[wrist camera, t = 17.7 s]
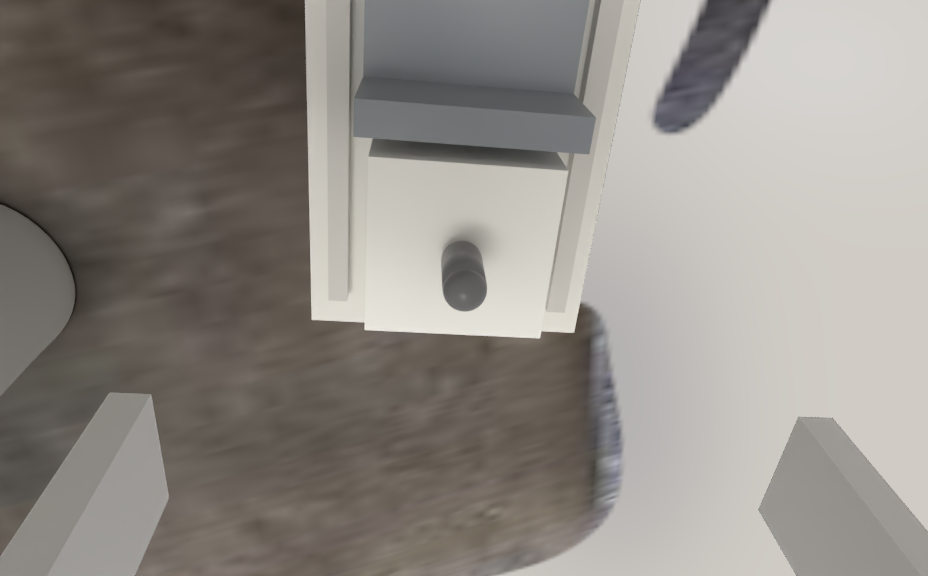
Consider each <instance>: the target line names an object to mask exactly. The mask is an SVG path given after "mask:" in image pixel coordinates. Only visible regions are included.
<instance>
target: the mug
mask: <svg viewBox="0 0 928 576" xmlns="http://www.w3.org/2000/svg"><path fill="white" fill-rule="evenodd" d="M74 303H75V285H74V280H73V276H72V273H71V270H70V268H69V265H68V263H67V261H66V259H65V257H64V256H63V254H62V252H61V251H60V250H59V248H58V247H57V245H56V244H55V243H54V242H53V241H52V239H51V238H50V237H49V236H48V235H47V234H46V233H45V232H44V231H43V230H42V229H41V228H39V227H38V226H37V225H36V224H34V223H33V222H32V221H30V220H29V219H28V218H26V217H24V216H23V215H21V214H20V213H18V212H16V211H14V210H12V209H10V208H8V207H6V206H4V205H1V204H0V396H1V395H2V394H3V393H4V392H5V391H6V389H7V388H8V387H9V386H10V385H11V384H12V383H13V382H14V381H15V380H16V379H17V378H18V376H19V375H20V374H21V373H22V372H23V371H24V370H25V369H26V368H27V367H28V366H29V365H30V364H31V363H32V361H33V360H34V359H35V358H36V357H37V356H38V355H39V354H40V353H41V352H42V351H43V350H44V349H45V348H46V347H47V346H48V345H49V344H50V343H51V342H52V341H53V340H54V339H55V338H56V337H57V336H58V335H59V334H60V332H61V331H62V330H63V328H64V327H65V326H66V324H67V323H68V320H69V318H70V316H71V314H72V311H73V307H74Z"/></svg>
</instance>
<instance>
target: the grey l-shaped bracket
mask: <svg viewBox="0 0 928 576" xmlns="http://www.w3.org/2000/svg"><path fill="white" fill-rule="evenodd" d="M589 1H590V0H365V4H364V60H363V78H362V80H361V83H360V85H359V87H358V90H357V92H356V94H355V96H354V121H353V137H362V138H375V139H389V140H402V141H415V142H429V143H442V144H455V145H469V146H482V147H496V148H509V149H522V150H536V151H549V152H562V153H576V154H590V148H591V143H592V137H593V132H594V127H595V121H596V117H595V116H594V115H593V114H592V113H591V112H590V111H589V109H588V108H587V107H586V106H585V105H584V104H583V103H582V102H581V101H580V100H579V99H578V98H577V97H576V96H575V95H574V91H575V85H576V79H577V73H578V67H579V61H580V55H581V49H582V43H583V37H584V31H585V25H586V19H587V13H588V7H589Z"/></svg>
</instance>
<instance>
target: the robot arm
mask: <svg viewBox="0 0 928 576" xmlns="http://www.w3.org/2000/svg"><path fill="white" fill-rule="evenodd" d="M168 499H169V494H168V489H167V483H166V477H165V471H164V465H163V460H162V454H161V448H160V442H159V437H158V431H157V425H156V419H155V413H154V408H153V402H152V396H151V394H133V393H109V394H108V395H107V397H106V398H105V400H104V401H103V403H102V404H101V406H100V408H99V409H98V411H97V412H96V414H95V415H94V417H93V418H92V420H91V421H90V423H89V424H88V426H87V427H86V429H85V430H84V432H83V433H82V435H81V436H80V438H79V439H78V441H77V442H76V444H75V445H74V447H73V448H72V450H71V451H70V453H69V454H68V456H67V457H66V459H65V460H64V462H63V463H62V465H61V466H60V468H59V469H58V471H57V472H56V474H55V475H54V477H53V478H52V480H51V481H50V483H49V484H48V486H47V487H46V489H45V490H44V492H43V493H42V495H41V496H40V498H39V499H38V501H37V502H36V504H35V505H34V507H33V508H32V510H31V511H30V513H29V514H28V516H27V517H26V519H25V520H24V522H23V523H22V525H21V526H20V528H19V529H18V531H17V532H16V534H15V535H14V537H13V538H12V540H11V541H10V543H9V544H8V546H7V547H6V549H5V550H4V552H3V553H2V555H1V556H0V576H135V574H136V572H137V570H138V567H139V565H140V563H141V560H142V558H143V556H144V554H145V551H146V549H147V547H148V545H149V542H150V540H151V538H152V535H153V533H154V531H155V529H156V526H157V524H158V522H159V519H160V517H161V515H162V513H163V510H164V508H165V506H166V504H167V501H168ZM758 510H759V512H760V513H761V515H762V517H763V519H764V520H765V522H766V524H767V526H768V527H769V529H770V530H771V532H772V534H773V536H774V538H775V539H776V541H777V543H778V545H779V546H780V548H781V550H782V551H783V553H784V555H785V557H786V558H787V560H788V562H789V564H790V565H791V567H792V569H793V570H794V572H795V574H796V576H928V531H927V530H926V529H925V528H924V526H923V525H922V524H921V523H920V522H919V521H918V519H917V518H916V517H915V516H914V515H913V513H912V512H911V511H910V510H909V508H908V507H907V506H906V505H905V504H904V503H903V501H902V500H901V499H900V498H899V497H898V495H897V494H896V493H895V492H894V491H893V489H892V488H891V487H890V486H889V485H888V483H887V482H886V481H885V480H884V479H883V478H882V476H881V475H880V474H879V473H878V472H877V470H876V469H875V468H874V467H873V466H872V464H871V463H870V462H869V461H868V460H867V458H866V457H865V456H864V455H863V454H862V452H861V451H860V450H859V449H858V448H857V446H856V445H855V444H854V443H853V442H852V441H851V440H850V438H849V437H848V436H847V435H846V433H845V432H844V431H843V430H842V429H841V427H840V426H839V425H838V424H837V423H836V421H835V420H834V419H833V418H819V417H798V419H797V421H796V424H795V426H794V428H793V431H792V433H791V435H790V438H789V440H788V442H787V445H786V447H785V449H784V451H783V454H782V456H781V458H780V461H779V463H778V465H777V468H776V470H775V472H774V475H773V477H772V479H771V482H770V484H769V486H768V489H767V491H766V493H765V496H764V498H763V500H762V502H761V505H760V507H759V509H758Z"/></svg>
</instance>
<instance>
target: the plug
mask: <svg viewBox="0 0 928 576" xmlns="http://www.w3.org/2000/svg"><path fill="white" fill-rule="evenodd" d="M567 177H568V169H567V168H566V166H565V164H564V163H563V161H562V159H561V158H560V156H559V155H558V153H557V152H549V151H536V150H522V149H509V148H496V147H482V146H469V145H455V144H442V143H429V142H415V141H402V140H389V139H375V138H373V140H372V144H371V148H370V152H369V155H368V190H367V236H366V283H365V330H375V331H395V332H416V333H437V334H458V335H479V336H500V337H521V338H540V335H541V329H542V323H543V317H544V311H545V305H546V300H547V294H548V288H549V282H550V276H551V270H552V264H553V259H554V253H555V247H556V241H557V235H558V229H559V224H560V218H561V212H562V206H563V200H564V194H565V188H566V183H567Z"/></svg>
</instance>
